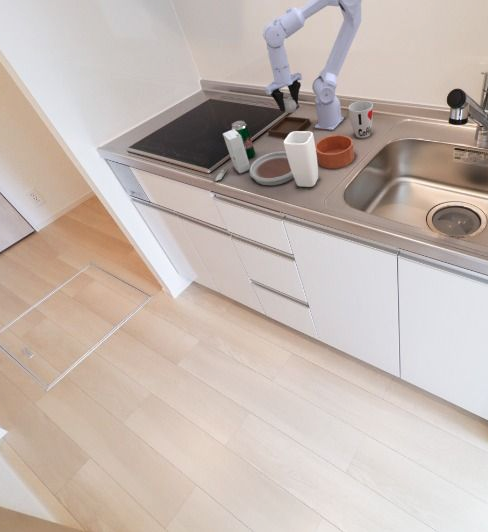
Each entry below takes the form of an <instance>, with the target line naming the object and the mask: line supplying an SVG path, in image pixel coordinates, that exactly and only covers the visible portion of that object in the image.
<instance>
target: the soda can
mask: <svg viewBox="0 0 488 532" xmlns="http://www.w3.org/2000/svg"><path fill="white" fill-rule="evenodd" d="M233 129H234V130H235V131H237V132H238V133H239V134H240V135H241V137H242V141H243V144H244V147H245V151H246V154H247V158H248V160H252V159H253V158H254V157H255V156H256V154H257V153H256V149H255V147H254V144H253V141H252V138H251V134H250V131H249V128H248V124H246V122H245V121H244V120H236V121H234V122H233V123H231V130H233Z"/></svg>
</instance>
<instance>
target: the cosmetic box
mask: <svg viewBox="0 0 488 532" xmlns="http://www.w3.org/2000/svg"><path fill="white" fill-rule="evenodd" d="M222 137H223V138H224V141H225V145H226V148H227V150H228V153H229V156H230V159H231V163H232V165H233V168H234V169H235V171H236V172H238V173H239V174H242V173H245V172H248V171H250V167H251V165H250V161H249V159H248V158H247V154H246V151H245V147H244V144H243V141H242V137H241V135H240V134H239V133H238V132H237V131H235V130H234V129H233V130H232V129H231V130H228V131H226V132H223V133H222Z"/></svg>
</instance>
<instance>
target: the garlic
mask: <svg viewBox="0 0 488 532" xmlns="http://www.w3.org/2000/svg"><path fill="white" fill-rule="evenodd" d="M283 100H284V106H285V111H284V113H286V114H293V113H295V112H296V110H297V106H298V105H297V104H296V102H295V101H294V100H293V99H292V97H291V96H288V97H286V98H283Z"/></svg>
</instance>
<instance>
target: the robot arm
mask: <svg viewBox="0 0 488 532" xmlns="http://www.w3.org/2000/svg"><path fill="white" fill-rule="evenodd" d="M362 1H363V0H308V1H307V2H306V3H304V4H303V5H302V6H301V7H299V8H297V7H294V6H293V7H291V8H290V7H287V8H286V9H285V13H283V14H281V15H280V16H278V17H277V18H276V17H274V18H273V19H272V21H273V22H268V23H266V24H265V26H264V27H263V30H262V37H263V39H264V40H265V42H266V49H267V51H268V52H267V54H268V59H269V62H270V67H271V72H272V75H273V79H274V80H273V81H272V82H271V83H270V84H268V85H267V86H265V87H264V91H265V94H267V95H269V96H271V97H272V98H273V100H274V101H275V102H276V105H277V106H278V108H279V111H280V112H282V113H283V112H284V111H285V106H284V94H285V93H284V92H283V91H281V89H282V88H285V87H287V89H288V92H289V94H290V97H292V99H293V100H294V101H295V102H296V104H297V106H298V105H299V93H300V88H301V86H302V83H301V82H300V81H302V80H303V76H302V73H301V72H296V73H293V74H291V70H290V65H289V60H288V55H287V54H288V53H287V50H286V48H285V44H284V42H285V40H286V39H288V38H289V37H291V36H292V35H293V34H295V33H297V32H298V31H299V30H301V29H302V28H303V27H304V26H305V22H306V21H307V19H309V18H311V17H312V16H313V15H315V14H317V13H319V12H320V11H321V10H323V9H325V8H326V7H328V6H330V7H339V8H340V11H341V13H342V18H343V21H342V23H341V26H340V28H339V31H338V32H337V36H336V38H335V41H334V43H333V45H332V47H331V50H330V53H329V55H328V57H327V60H326V63H325V66H324V67H323V68H322V70H321V71H319V74H318V76H317V77H316V78H315V79H314V80H313V81H312V86H311V87H312V91H313V93H314V94H315V95H316V96H315V99H314V105H315V110H316V116H317V123H316V124H315V125H314V129H321V130H328V131H333V130H334V129H336V128H337V126H338V125H340V123H342V121H343V120H345V117H343V116H342V108H341V107H342V106H341V101H340V99H339V98H338V97H337V96H336V88H337V87H338V76H339V74H340V71H341V69H342V67H343V65H344V63H345V61H346V58H347V56H348V53H349V51H350V48H351V46H352V44H353V42H354V39H355V37H356V34H357V33H358V30H359V28H360V26H361V23H362ZM284 113H285V112H284Z"/></svg>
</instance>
